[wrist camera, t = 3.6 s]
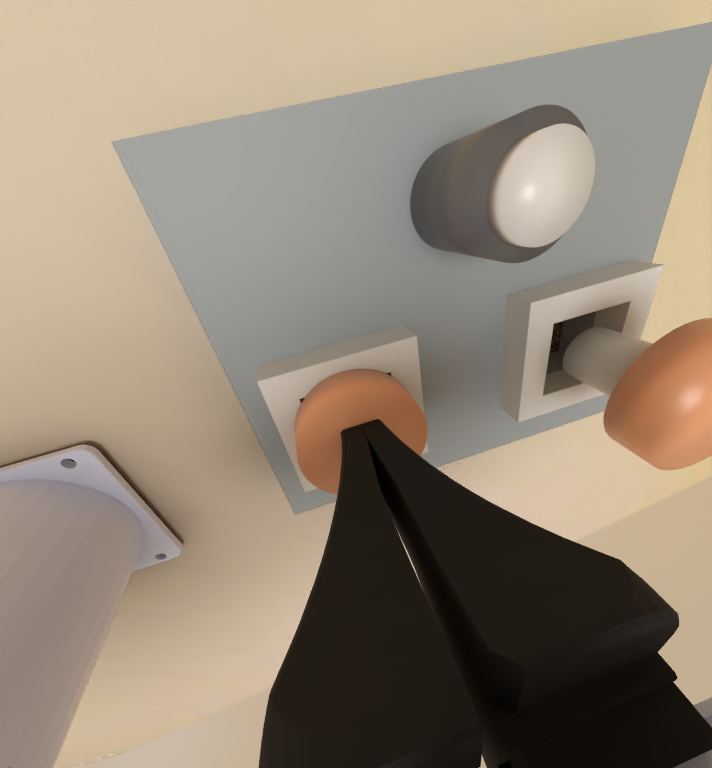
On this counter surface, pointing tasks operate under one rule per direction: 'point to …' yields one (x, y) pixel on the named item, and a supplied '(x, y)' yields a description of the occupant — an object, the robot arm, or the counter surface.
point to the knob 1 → (352, 420)
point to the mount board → (418, 243)
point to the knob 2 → (652, 390)
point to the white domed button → (506, 186)
